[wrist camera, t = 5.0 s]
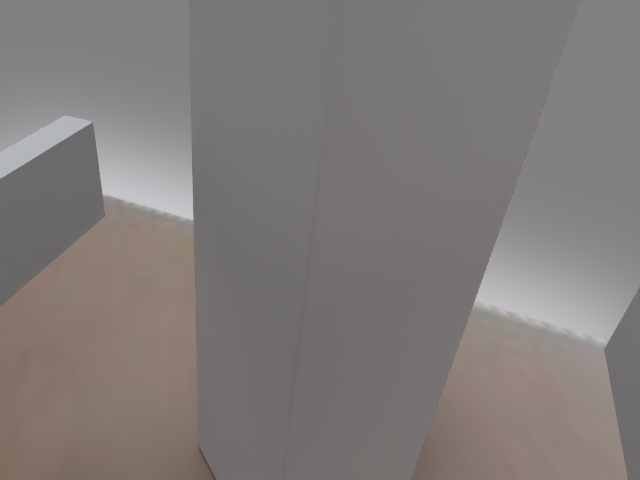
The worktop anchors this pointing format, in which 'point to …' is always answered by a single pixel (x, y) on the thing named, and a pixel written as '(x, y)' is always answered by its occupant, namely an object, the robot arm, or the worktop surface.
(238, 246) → the milk
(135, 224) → the worktop surface
